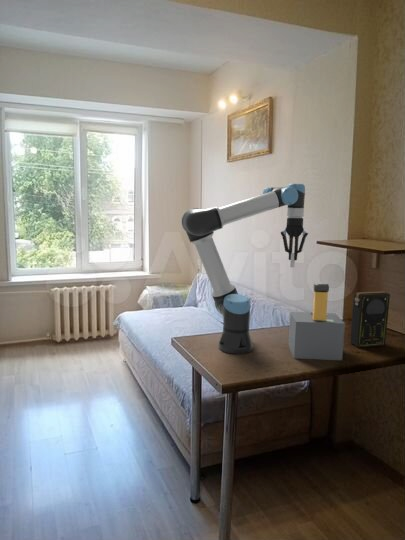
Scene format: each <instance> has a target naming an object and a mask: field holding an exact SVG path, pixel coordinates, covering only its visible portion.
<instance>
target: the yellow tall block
mask: <svg viewBox="0 0 405 540" xmlns="http://www.w3.org/2000/svg"><path fill="white" fill-rule="evenodd" d="M329 291H330V285H329V284H328V283H313V302H312V303H313V304H312V312H313V315H312V319H313V320H321V321H326V313H328V312H327V310H328V309H327V308H328V298H329V296H328V295H329V293H328V292H329Z"/></svg>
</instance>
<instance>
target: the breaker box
mask: <svg viewBox="0 0 405 540" xmlns="http://www.w3.org/2000/svg"><path fill="white" fill-rule="evenodd" d="M289 314H290V315H289V328H288V330H289V332H288V347H289V350H290V353H291V355H292V358H293V359H301V360H304V359H306V360H327V361H328V360H329V361H343V353H344V338H345V329H346V328H345V327H346V323H345V322H344V320H342V319H341V318H340V317H339V316H338V315H337V313H335V312H326V321H321V320H313V319H312V315H313V311H312V312H311V311H309V312H307V311H303V312H302V311H290V313H289Z"/></svg>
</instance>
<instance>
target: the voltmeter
mask: <svg viewBox="0 0 405 540" xmlns="http://www.w3.org/2000/svg"><path fill="white" fill-rule="evenodd" d="M390 297H391V294H390V293H389V292H386V291H381V290H380V291H377V290H376V291H359V292H354V293H353V298H352V299H353V300H352V313H351V323H350V335H349V342H350V344H352V345H354V346H355V347H356V348H358V349H359V348H360V349H361V348H372V347H383V346H385V345H386V340H387V329H388V319H389V318H388V317H389V308H390Z"/></svg>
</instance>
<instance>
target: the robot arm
mask: <svg viewBox="0 0 405 540" xmlns="http://www.w3.org/2000/svg"><path fill="white" fill-rule="evenodd" d="M305 196H306V185H305V184H304V183H289V184H288V186H284V187H282V186H281V187H265V188H264V189H263V191H262V194H259V195H256V196H253V197H249V198H246V199H244V200H240V201H236V202H234V203H230V204H228V205H224V206H221V207H218V206H213V207H209V208H198V207H193V208H190V209H188V210H186V212H184V213H183V215H182V217H181V226H182V229H183V230H184V231H185V233H186V235H187V237H188V240H189V241H190V243H191V244H193V245H194V246H195V248H196V251H197V253H198V256H199V258H200V260H201V264H202V266H203V268H204V271H205V273H206V275H207V277H208V280H209V282H210V285H211V287H212V293H211V296H212V298H213V302H214V308H215V310H216V311H217V312H218V313H219V314H221V316H222V318H223V320H222V333H221V335H220V338H219V341H218V349H219V351H222V352H225V353H228V354H233V355H234V354H237V355H238V354H241V355H242V354H246V353H250V352H251V351H253V348H254V347H253V345H254V344H253V341H252V338H251V337H252V336H251V334H250V324H251V323H250V318H251V308H252V307H251V300H250V298H249V297H248V296H246V295H243V294H240V293H238V290H237V288H236V286H235V285H234V284H232V283H231V282H230V278H229V276H228V274H227V271H226V269H225V266H224V264H223V261H222V259H221V257H220V254H219V251H218V249H217V246H216V244H215V241H214V238H213V236H214V232H216V231H219V230H221V229H223V228H224V226H226V225H229V224H232V223H235V222H238V221H241V220H243V219H244V220H245V219H247V218H250V217H253V216H256V215H259V214H263V213H265V212H269V211H272V210H275V209H278V208H281V207H284V206H287V211H286V214H287V215H286V216H287V218H286V227H285V229H284V230H282V231H280V235H281V237H282V240H283V241H282V242H283V248H284V252H286V253H288V260H289V261H290V266H289V267H290V268H295V262H296V261H297V260H298V254H299V253H301V252H302V251H303V248H304V244H305V242H306V238H307V236H308V235H309V232H307V231H305V228H304V218H303V217H304V216H305V215H304V213H305V211H304V210H305V198H306V197H305ZM287 235H288V236H289V238H288V239H289V241H288V239H287ZM301 235H302V236H301ZM300 236H301V237H302V238H301V241H300V245H299V237H300ZM293 243H294V246H293ZM293 247H294V250H293ZM293 251H294V252H293Z"/></svg>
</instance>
